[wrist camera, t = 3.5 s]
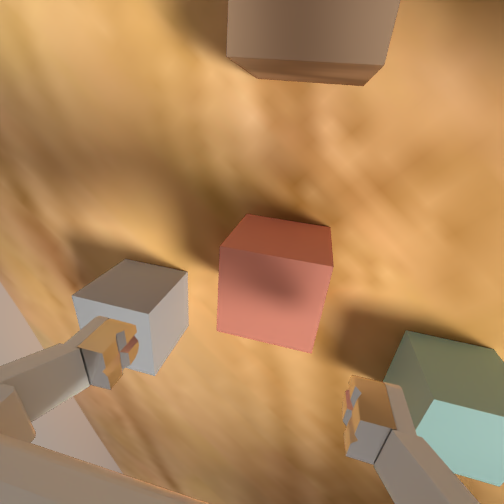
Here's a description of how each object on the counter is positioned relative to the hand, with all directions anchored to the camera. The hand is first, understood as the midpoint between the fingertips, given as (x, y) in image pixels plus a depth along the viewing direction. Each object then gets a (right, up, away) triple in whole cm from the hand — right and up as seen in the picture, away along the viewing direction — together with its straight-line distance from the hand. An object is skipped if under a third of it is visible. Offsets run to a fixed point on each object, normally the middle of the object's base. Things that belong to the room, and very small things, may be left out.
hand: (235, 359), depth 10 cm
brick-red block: (+3, +4, +7) cm, 8 cm away
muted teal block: (+13, -4, +8) cm, 15 cm away
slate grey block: (-7, +1, +11) cm, 13 cm away
